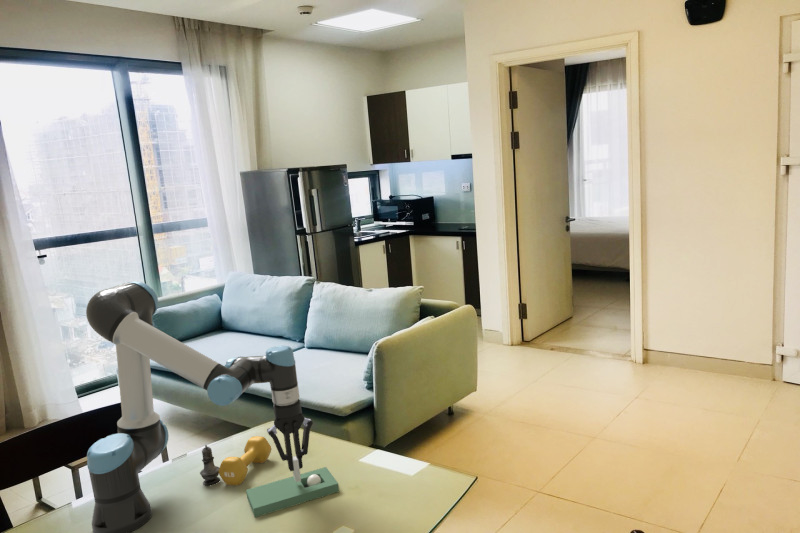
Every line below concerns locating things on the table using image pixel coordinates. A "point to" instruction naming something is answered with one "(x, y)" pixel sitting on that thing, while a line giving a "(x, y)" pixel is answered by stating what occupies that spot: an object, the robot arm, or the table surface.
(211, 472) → the dark grey chess piece
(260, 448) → the dumbbell
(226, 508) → the table surface
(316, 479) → the ball
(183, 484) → the table surface
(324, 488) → the green
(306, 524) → the table surface
